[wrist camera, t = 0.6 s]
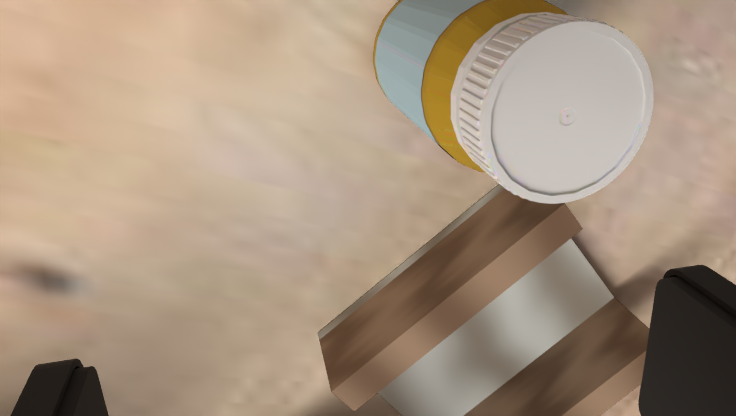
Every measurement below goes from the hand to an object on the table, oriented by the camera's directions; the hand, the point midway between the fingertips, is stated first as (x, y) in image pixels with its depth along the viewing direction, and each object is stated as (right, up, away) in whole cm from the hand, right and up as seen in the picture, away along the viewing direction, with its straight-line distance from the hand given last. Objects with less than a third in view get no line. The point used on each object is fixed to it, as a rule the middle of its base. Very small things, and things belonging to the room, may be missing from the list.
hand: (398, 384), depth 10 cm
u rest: (+7, -5, +31) cm, 32 cm away
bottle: (+3, +11, +24) cm, 27 cm away
